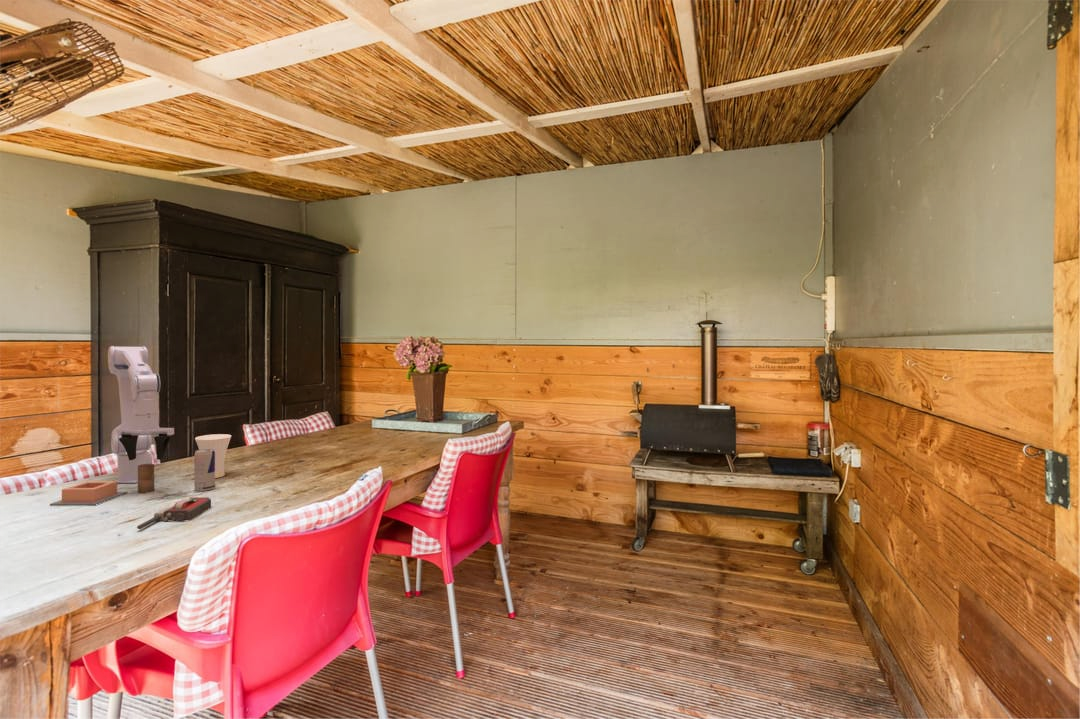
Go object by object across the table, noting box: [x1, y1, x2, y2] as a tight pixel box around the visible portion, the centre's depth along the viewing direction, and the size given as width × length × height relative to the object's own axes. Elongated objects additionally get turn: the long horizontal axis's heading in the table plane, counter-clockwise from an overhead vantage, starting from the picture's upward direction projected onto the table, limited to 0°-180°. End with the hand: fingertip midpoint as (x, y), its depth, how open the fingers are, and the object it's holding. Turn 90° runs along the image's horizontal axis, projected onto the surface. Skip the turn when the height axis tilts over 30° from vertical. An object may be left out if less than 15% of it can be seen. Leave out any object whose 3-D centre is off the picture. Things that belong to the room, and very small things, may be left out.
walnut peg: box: [137, 463, 155, 494], centre depth 158 cm, size 4×4×8 cm
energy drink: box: [193, 449, 216, 492], centre depth 161 cm, size 5×5×12 cm
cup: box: [194, 433, 232, 479], centre depth 176 cm, size 10×10×14 cm
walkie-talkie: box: [136, 496, 212, 530], centre depth 134 cm, size 9×4×20 cm
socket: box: [49, 480, 128, 506], centre depth 149 cm, size 12×12×4 cm
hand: (146, 459), depth 156 cm, fingers open, 7 cm apart
